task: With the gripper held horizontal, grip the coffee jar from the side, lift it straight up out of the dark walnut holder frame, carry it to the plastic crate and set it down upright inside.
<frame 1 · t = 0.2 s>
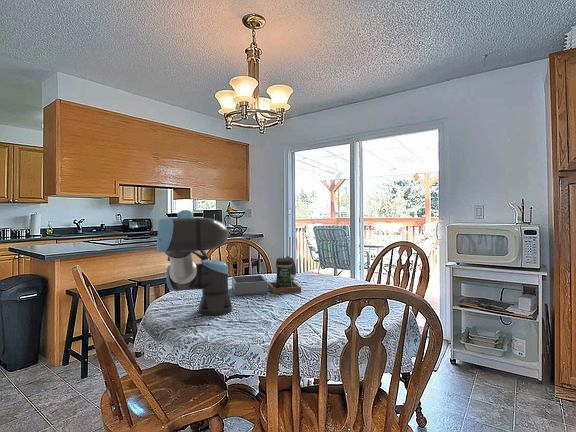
hand: (188, 268, 182), 15 cm above the table, tool tilted 35°, fingers open, 13 cm apart
crate: (249, 291, 194), on the table
coffee jar: (284, 290, 197), resting in holder frame
holder frame: (284, 289, 196), on the table
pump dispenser: (288, 279, 226), on the table
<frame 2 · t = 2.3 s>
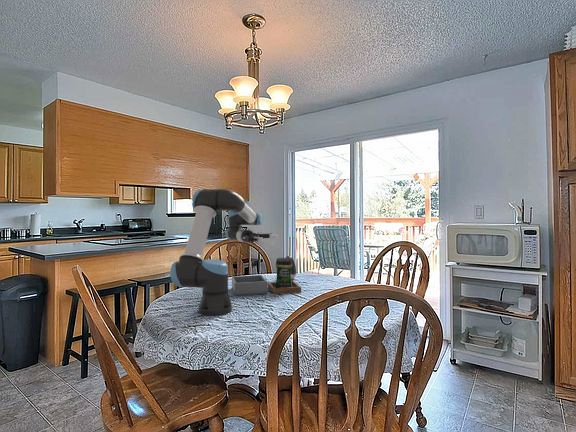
hand: (270, 238, 200), 29 cm above the table, tool horizontal, fingers open, 13 cm apart
nothing on the table moved.
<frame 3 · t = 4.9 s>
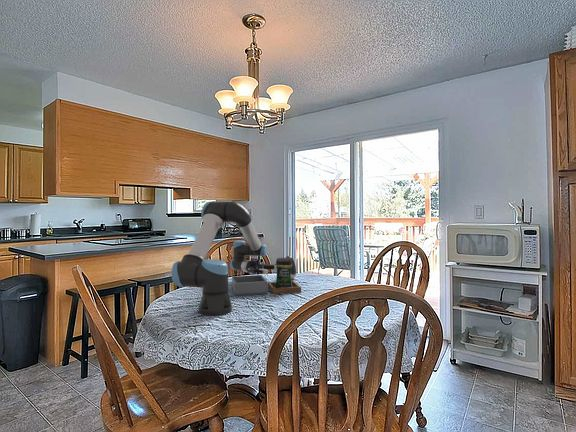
hand: (275, 270, 201), 10 cm above the table, tool horizontal, fingers open, 13 cm apart
nothing on the table moved.
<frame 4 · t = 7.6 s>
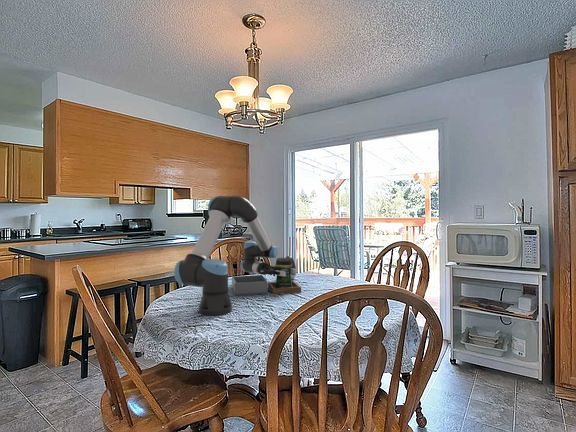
hand: (290, 272, 193), 11 cm above the table, tool horizontal, fingers closed on coffee jar, 9 cm apart
coffee jar: (284, 290, 197), resting in holder frame, touching gripper
everything else where it was.
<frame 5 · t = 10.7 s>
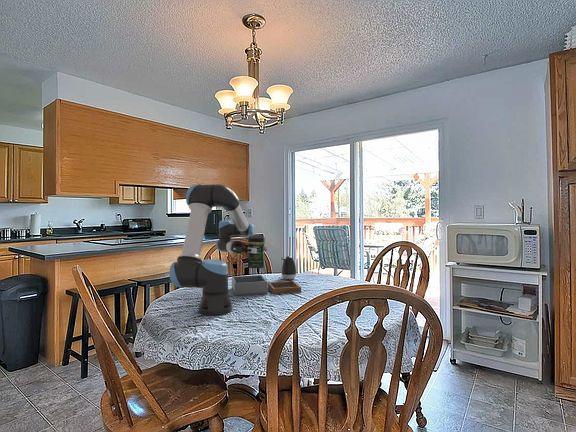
hand: (262, 249, 191), 24 cm above the table, tool horizontal, fingers closed on coffee jar, 9 cm apart
coffee jar: (256, 267, 194), point 13 cm above the table, touching gripper
everything else where it was.
when the fingers open (13 cm above the table, at t = 14.0 s): coffee jar drops 1 cm, resting on crate.
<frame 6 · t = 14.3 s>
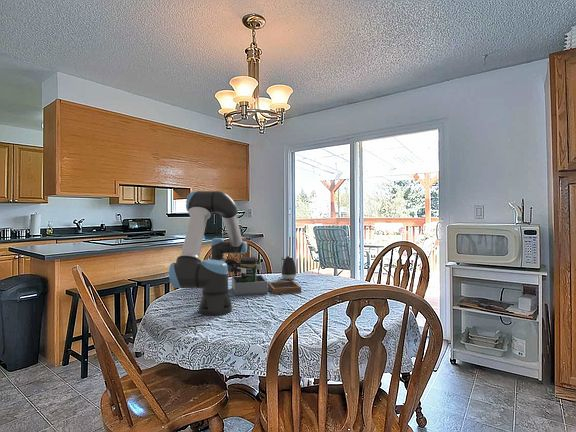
hand: (253, 269, 191), 13 cm above the table, tool horizontal, fingers open, 12 cm apart
coffee jar: (248, 289, 193), point 1 cm above the table, touching crate
everything else where it was.
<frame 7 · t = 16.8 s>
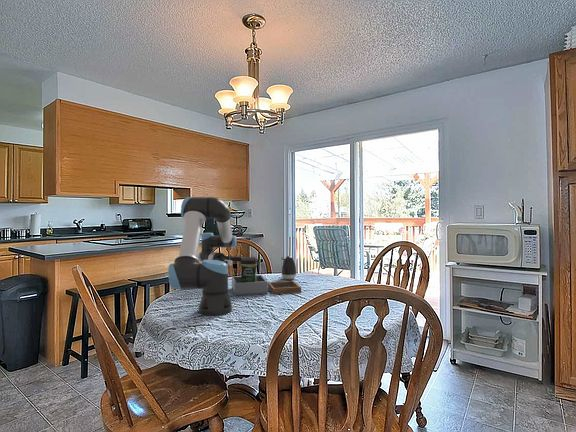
hand: (240, 261, 198), 16 cm above the table, tool horizontal, fingers open, 13 cm apart
nothing on the table moved.
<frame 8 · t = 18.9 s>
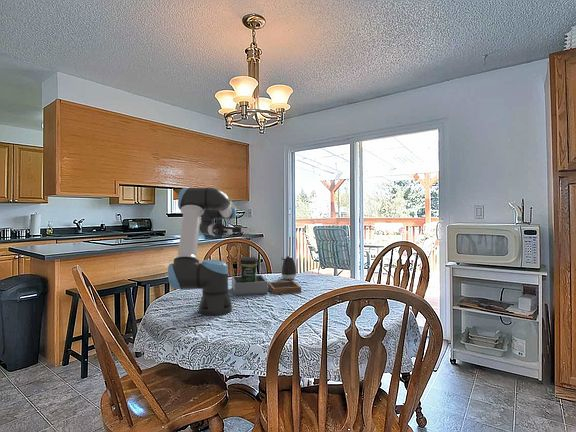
hand: (240, 231, 197), 34 cm above the table, tool horizontal, fingers open, 13 cm apart
nothing on the table moved.
at the end: coffee jar inside the target area on the crate (0.2 cm from its centre), point 0.8 cm above the crate's base; coffee jar tilted 0°; the gripper is holding nothing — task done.
